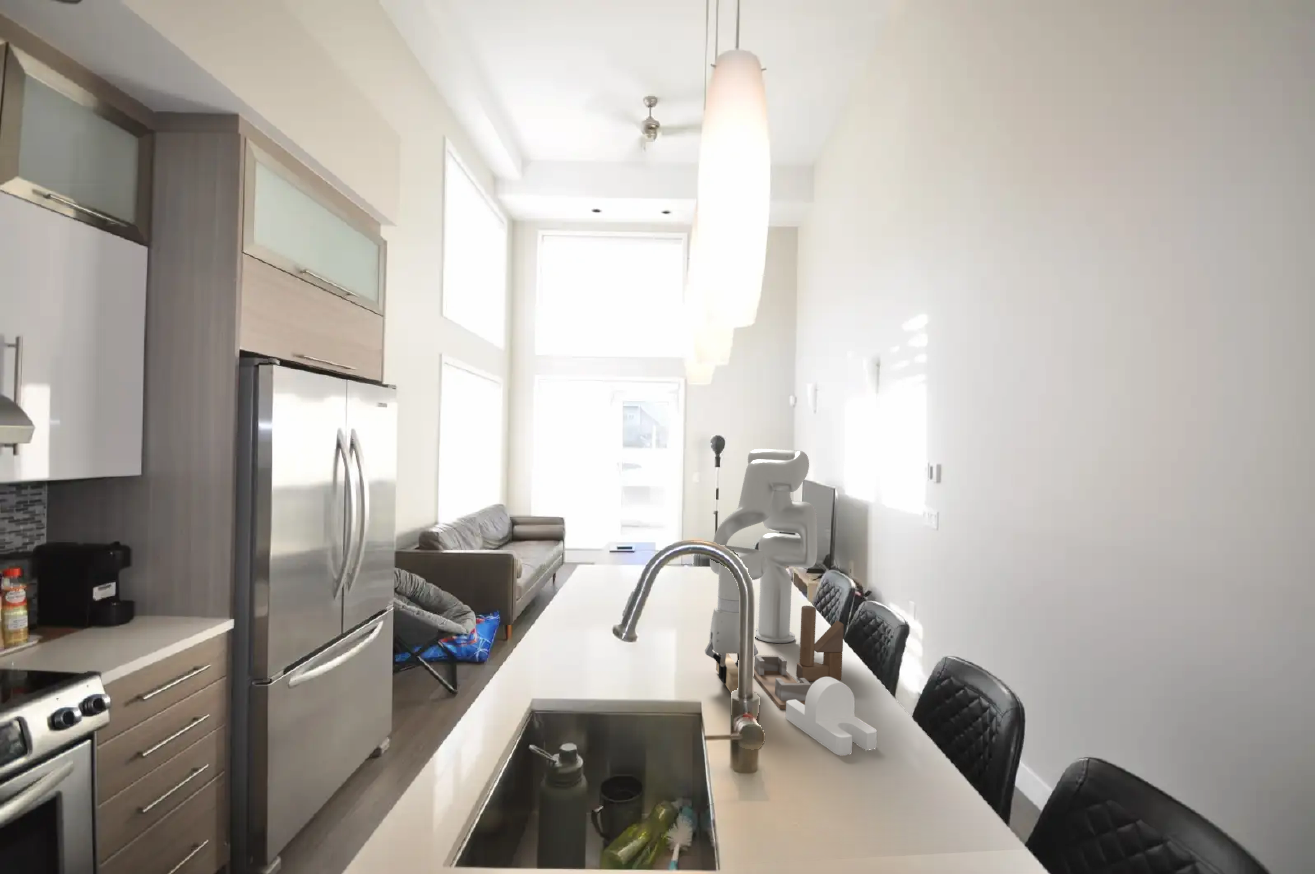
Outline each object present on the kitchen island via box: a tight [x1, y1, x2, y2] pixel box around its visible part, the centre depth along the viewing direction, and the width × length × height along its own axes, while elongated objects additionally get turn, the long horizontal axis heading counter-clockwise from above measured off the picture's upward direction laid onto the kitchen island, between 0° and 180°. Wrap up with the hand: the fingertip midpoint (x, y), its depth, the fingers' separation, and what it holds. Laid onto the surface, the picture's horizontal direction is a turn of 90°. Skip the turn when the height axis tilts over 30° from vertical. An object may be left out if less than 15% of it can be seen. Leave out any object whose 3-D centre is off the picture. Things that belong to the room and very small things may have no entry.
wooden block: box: [795, 605, 844, 682], centre depth 157 cm, size 4×11×18 cm, turn 102°
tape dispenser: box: [785, 677, 878, 756], centre depth 127 cm, size 10×18×11 cm, turn 23°
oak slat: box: [715, 654, 738, 694], centre depth 150 cm, size 16×3×4 cm, turn 8°
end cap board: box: [753, 654, 812, 710], centre depth 149 cm, size 24×9×4 cm, turn 8°
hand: (730, 680), depth 150 cm, fingers closed on oak slat, 2 cm apart
